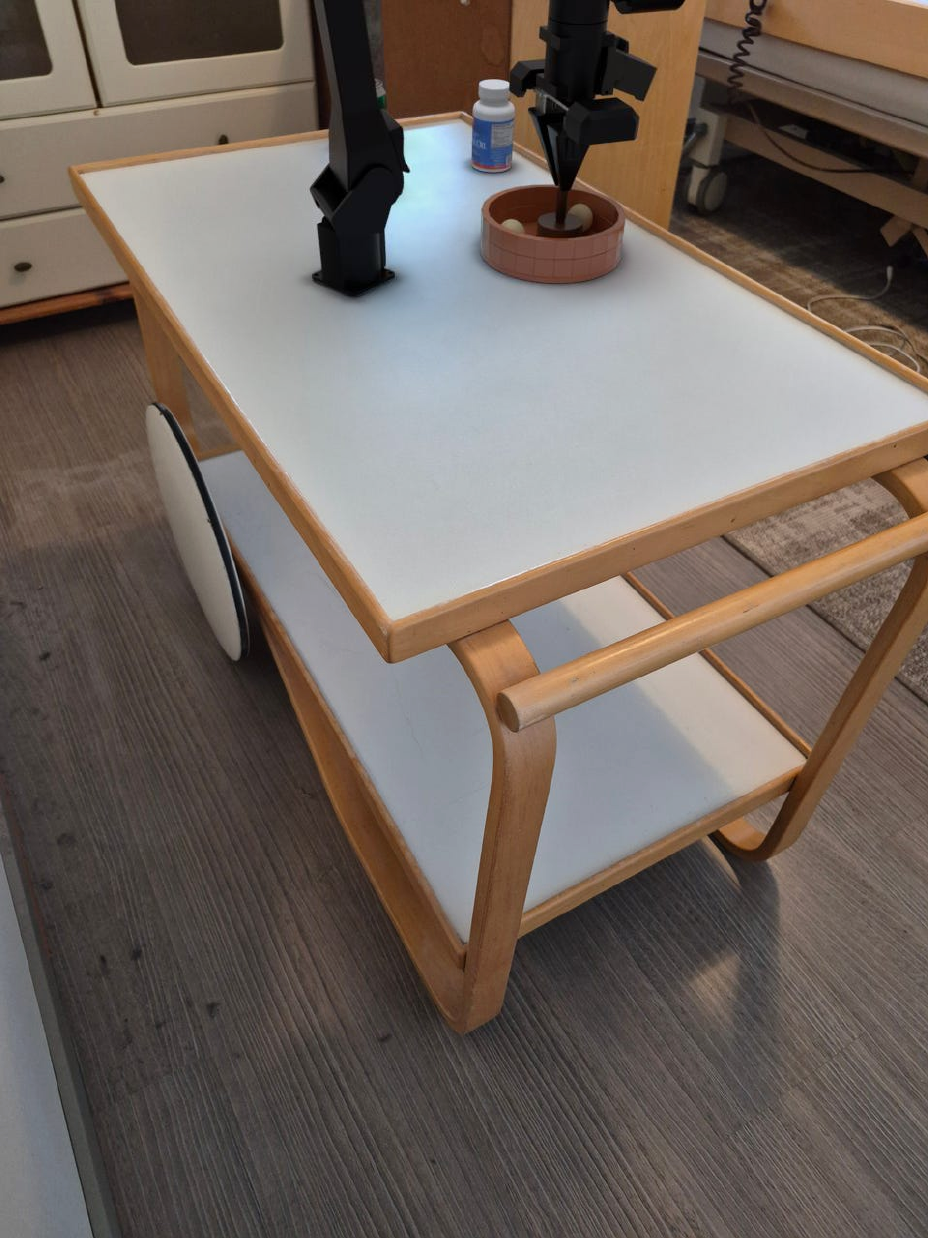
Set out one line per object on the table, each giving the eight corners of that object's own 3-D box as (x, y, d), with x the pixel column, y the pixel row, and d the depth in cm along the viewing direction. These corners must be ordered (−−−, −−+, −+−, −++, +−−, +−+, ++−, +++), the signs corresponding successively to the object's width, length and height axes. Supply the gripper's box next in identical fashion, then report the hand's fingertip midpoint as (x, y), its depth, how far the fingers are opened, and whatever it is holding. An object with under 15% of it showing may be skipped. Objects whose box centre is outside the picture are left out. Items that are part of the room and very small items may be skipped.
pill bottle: (464, 161, 121) (465, 79, 114) (500, 156, 122) (503, 75, 115) (482, 175, 117) (484, 91, 110) (519, 170, 119) (523, 86, 112)
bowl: (566, 297, 94) (571, 254, 90) (452, 254, 100) (452, 212, 97) (646, 249, 102) (653, 209, 99) (535, 212, 109) (538, 173, 106)
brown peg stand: (564, 252, 99) (572, 165, 92) (527, 239, 101) (533, 153, 95) (589, 238, 101) (599, 152, 95) (553, 226, 104) (560, 141, 97)
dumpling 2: (579, 230, 101) (590, 203, 100) (557, 223, 102) (568, 197, 102) (590, 239, 104) (601, 213, 103) (568, 232, 105) (579, 206, 104)
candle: (329, 139, 126) (314, -36, 112) (379, 134, 128) (371, -39, 113) (343, 157, 121) (330, -23, 107) (396, 151, 123) (390, -27, 108)
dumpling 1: (512, 255, 99) (514, 228, 97) (491, 247, 100) (492, 220, 98) (529, 247, 101) (531, 219, 98) (507, 239, 102) (509, 212, 100)
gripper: (702, 35, 82) (671, 211, 93) (609, -9, 94) (592, 151, 105) (591, 45, 79) (573, 225, 90) (511, -3, 91) (503, 161, 103)
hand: (562, 187), depth 97 cm, fingers closed on brown peg stand
